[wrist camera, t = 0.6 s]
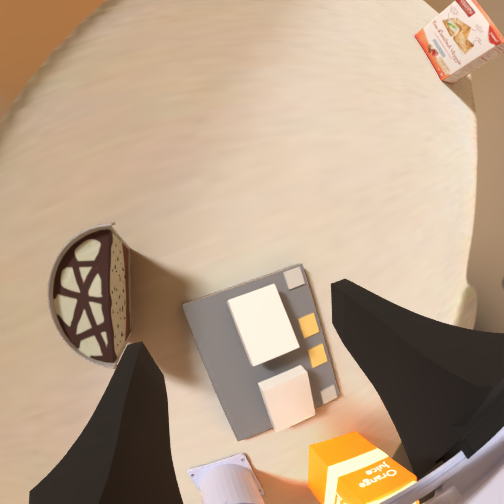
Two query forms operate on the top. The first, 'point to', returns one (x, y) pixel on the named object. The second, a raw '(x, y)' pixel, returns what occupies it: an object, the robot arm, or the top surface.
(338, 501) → the orange juice
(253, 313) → the plate
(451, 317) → the top surface
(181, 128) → the top surface
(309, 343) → the switch board
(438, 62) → the cracker box
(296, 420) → the rocker
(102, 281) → the food container
